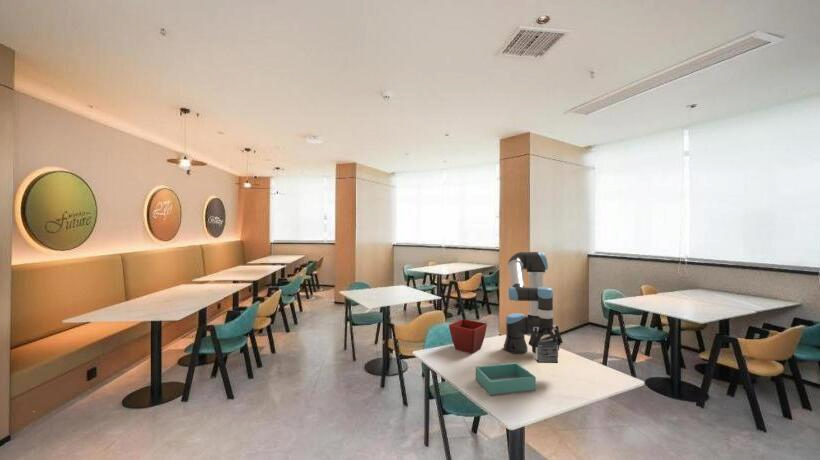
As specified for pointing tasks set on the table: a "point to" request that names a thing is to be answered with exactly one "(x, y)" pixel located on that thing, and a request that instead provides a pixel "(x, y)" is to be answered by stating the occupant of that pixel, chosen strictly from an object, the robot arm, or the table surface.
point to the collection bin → (505, 379)
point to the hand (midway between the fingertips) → (545, 357)
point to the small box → (547, 351)
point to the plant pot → (467, 335)
